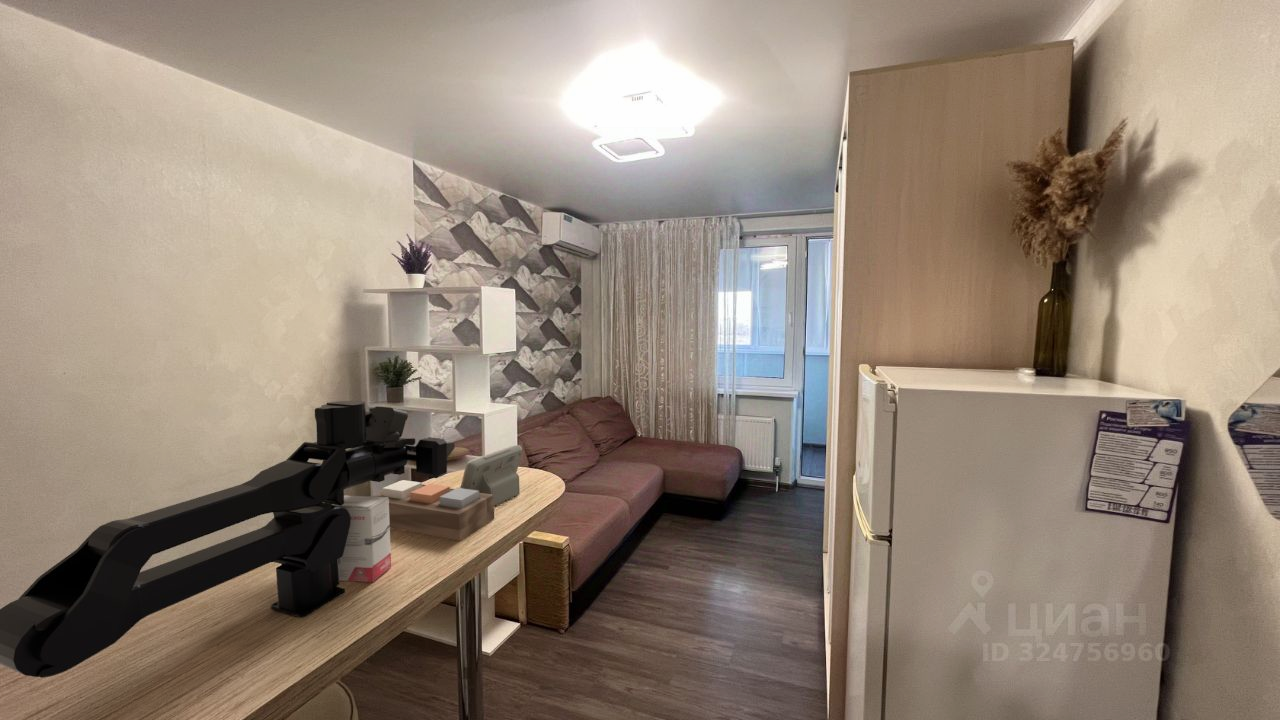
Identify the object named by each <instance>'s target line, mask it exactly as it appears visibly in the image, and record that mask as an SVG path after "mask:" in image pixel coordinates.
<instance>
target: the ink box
mask: <svg viewBox="0 0 1280 720" xmlns="http://www.w3.org/2000/svg"><path fill="white" fill-rule="evenodd" d="M332 505H335V504H332ZM335 506H341V507H344V508H345V509H347V511H348V512H349V514H350V519H351V521H350V528H349V532H348V536H347V540H346V545H345V549H344V553H343V556H342V557H341V558H339V559H337V560H338V575H339V582H340V581H341V582H342V581H344V582H365V583H374V582H375V581H376V580H377V579H379V578H380V577H381V576H382V575H384V573H386V572H387V571H388V570H389V569H390V568H391V567H392V554H391V553H392V552H391V550H392V549H391V528H390V523H389V497H372V496H369V495H367V496H366V495H345V494H344V504H343V505H335Z"/></svg>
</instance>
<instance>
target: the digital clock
mask: <svg viewBox="0 0 1280 720" xmlns="http://www.w3.org/2000/svg"><path fill="white" fill-rule="evenodd" d="M522 454H523V447H522V446H521V445H520V444H514V445H509V446H508V447H505V448H502V449H500V450H496V451H493V452H491V453H487V454H484V455H481V456H479V457H476V458H474V459H471V460H468V462H467V463H466V465H465V468H464V472H463V476H462V480H461V485H460V487H459V488H463V489H470V490H477V491H479V493H485V494H492V495H494V507H496V506H498V505H500V504H503V503H504V502H506V501H509V500H511V499H513V498H515V497H517V496H518V494H519V495H520V475H519V474H518V469H519V465H520V461H521V458H522ZM516 495H517V496H516ZM514 496H515V497H514ZM505 500H506V501H505ZM497 504H498V505H497ZM495 505H496V506H495Z"/></svg>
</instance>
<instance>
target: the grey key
mask: <svg viewBox="0 0 1280 720" xmlns="http://www.w3.org/2000/svg"><path fill="white" fill-rule="evenodd" d="M453 489H454V490H452V491H450V492H448V493H446V494H444V495H442V496H440V505H441V506H447V507H454V508H460V509H463V508H464V507H466V506H468V505H470V504H472V503H473V502H475V501H477V500H479V491H477V490H470V489H463V488H460V487H456V488H453Z"/></svg>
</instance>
